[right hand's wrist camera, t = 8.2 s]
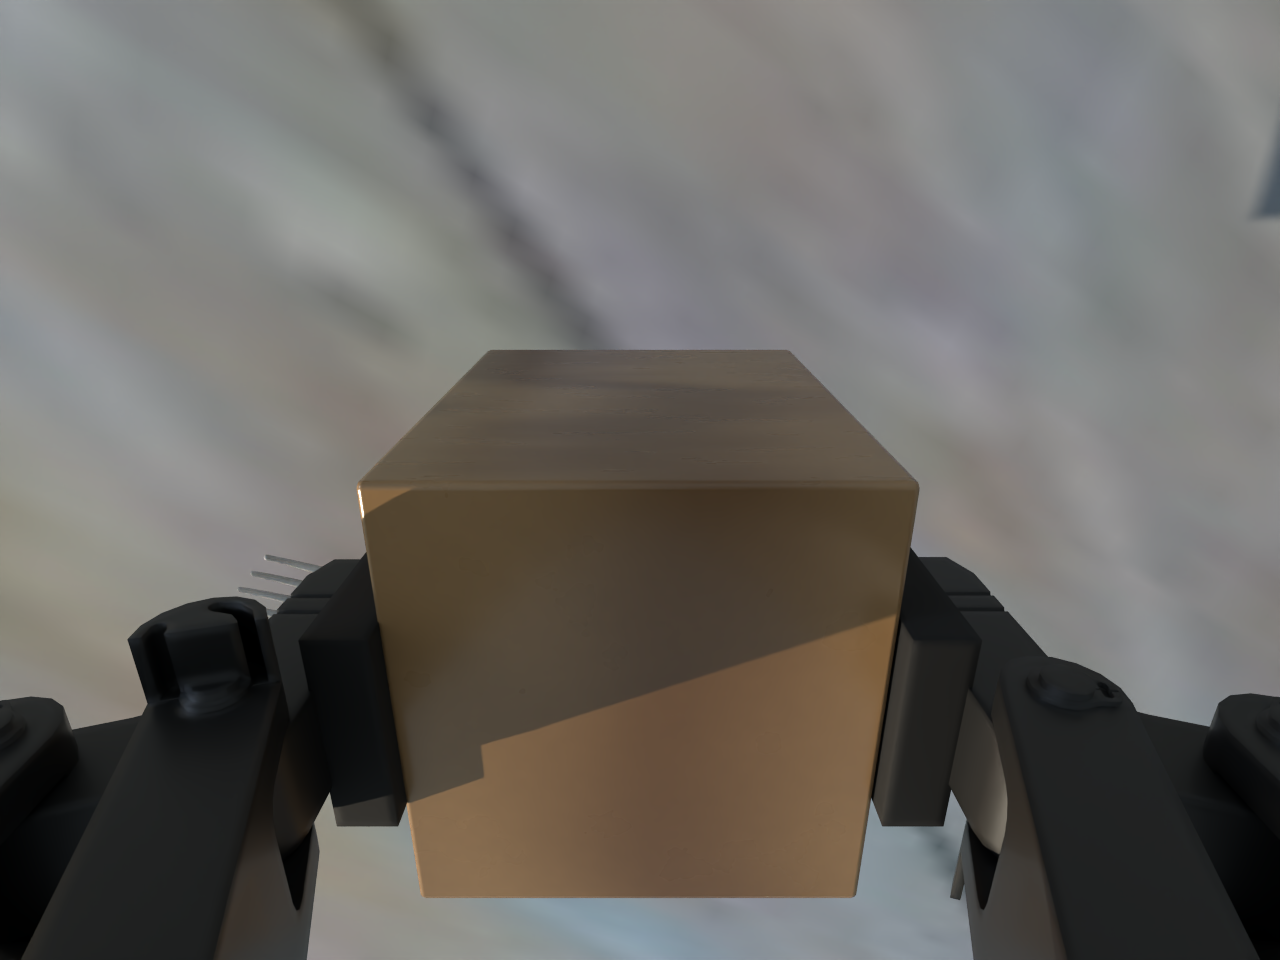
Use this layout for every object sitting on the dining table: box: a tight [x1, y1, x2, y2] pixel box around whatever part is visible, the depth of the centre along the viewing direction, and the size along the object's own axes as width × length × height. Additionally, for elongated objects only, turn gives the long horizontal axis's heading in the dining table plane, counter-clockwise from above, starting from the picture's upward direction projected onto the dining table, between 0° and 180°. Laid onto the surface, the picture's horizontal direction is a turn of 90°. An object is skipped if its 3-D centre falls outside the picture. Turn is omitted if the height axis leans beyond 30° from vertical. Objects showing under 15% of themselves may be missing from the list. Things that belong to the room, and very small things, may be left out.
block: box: [357, 350, 919, 898], centre depth 12 cm, size 6×6×7 cm
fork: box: [238, 555, 321, 617], centre depth 23 cm, size 3×16×2 cm, turn 47°
